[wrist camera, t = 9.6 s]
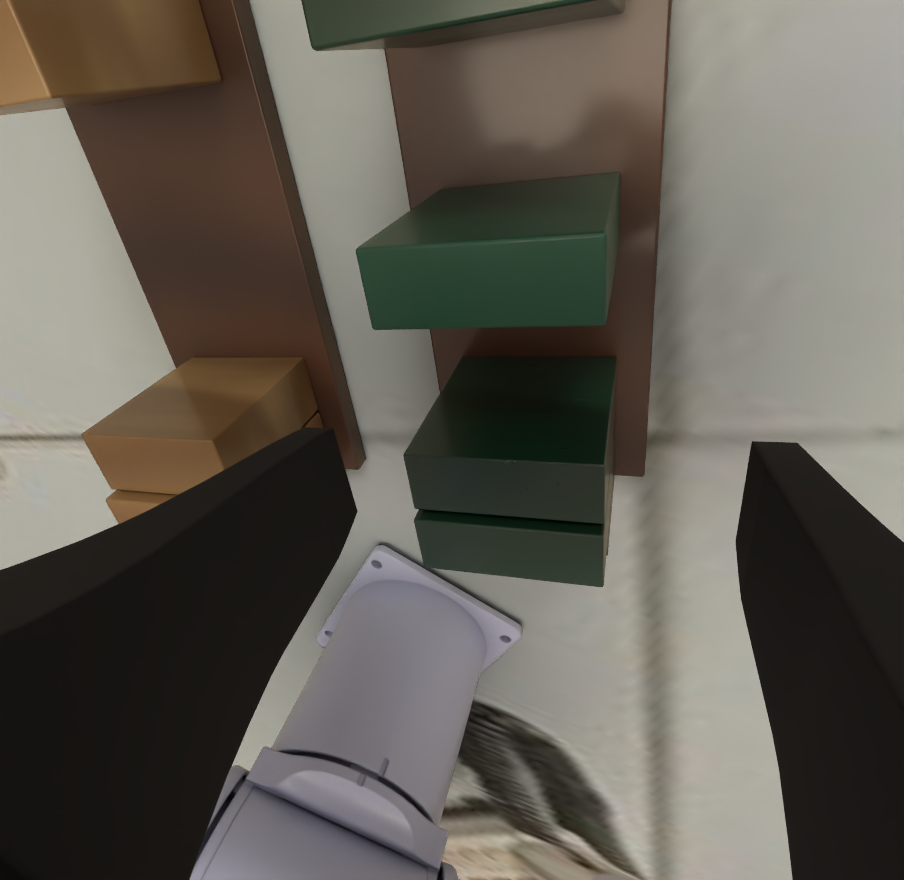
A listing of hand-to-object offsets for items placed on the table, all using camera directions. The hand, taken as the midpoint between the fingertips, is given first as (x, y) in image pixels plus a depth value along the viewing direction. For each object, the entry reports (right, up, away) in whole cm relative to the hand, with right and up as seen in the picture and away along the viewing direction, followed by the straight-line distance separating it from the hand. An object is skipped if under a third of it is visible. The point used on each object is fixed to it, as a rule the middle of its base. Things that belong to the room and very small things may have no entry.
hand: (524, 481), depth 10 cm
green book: (+1, +7, +6) cm, 9 cm away
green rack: (+1, +7, +7) cm, 10 cm away
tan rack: (-9, +7, +11) cm, 16 cm away
